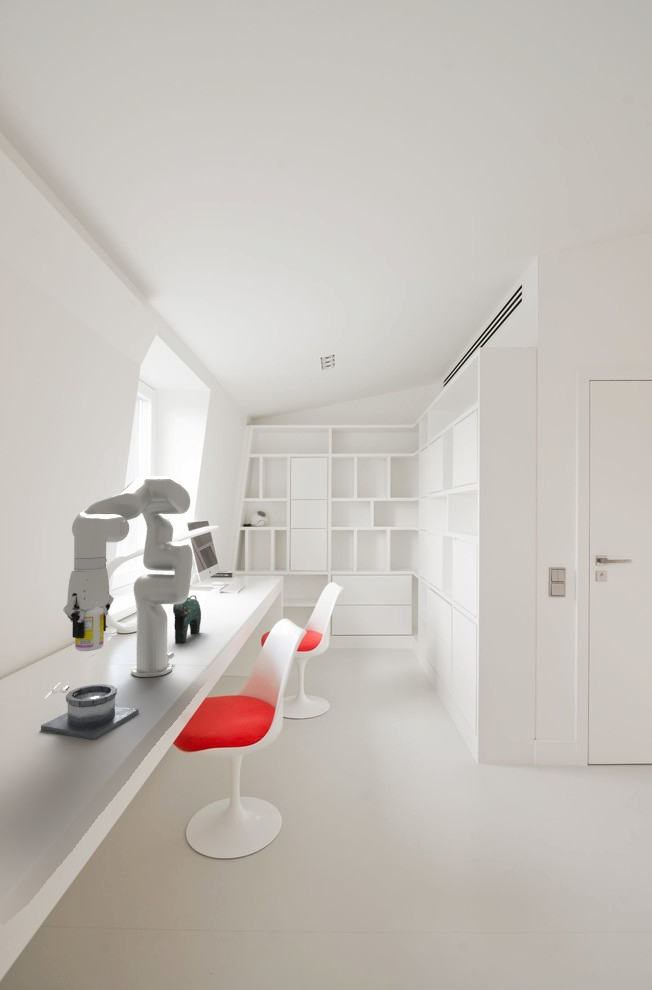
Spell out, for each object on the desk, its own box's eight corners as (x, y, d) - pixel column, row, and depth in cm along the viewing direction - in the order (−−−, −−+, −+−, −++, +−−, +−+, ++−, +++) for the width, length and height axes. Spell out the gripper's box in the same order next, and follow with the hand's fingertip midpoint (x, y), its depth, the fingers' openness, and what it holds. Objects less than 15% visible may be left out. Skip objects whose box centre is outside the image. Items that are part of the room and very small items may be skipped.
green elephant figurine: (184, 645, 205) (184, 593, 205) (168, 644, 206) (168, 592, 206) (203, 632, 225) (204, 585, 225) (189, 631, 226) (189, 584, 226)
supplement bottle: (95, 643, 140) (96, 594, 140) (108, 647, 136) (108, 597, 136) (70, 648, 135) (70, 598, 135) (82, 653, 131) (82, 601, 131)
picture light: (58, 684, 163) (59, 677, 163) (74, 683, 164) (74, 676, 164) (43, 701, 149) (43, 693, 149) (59, 700, 150) (60, 692, 150)
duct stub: (89, 706, 144) (89, 678, 144) (138, 713, 139) (138, 685, 139) (40, 730, 129) (41, 699, 129) (94, 739, 124) (94, 708, 124)
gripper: (102, 560, 145) (102, 625, 145) (51, 567, 129) (50, 641, 129) (125, 561, 143) (124, 628, 143) (75, 568, 126) (74, 644, 126)
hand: (89, 633), depth 136 cm, fingers closed on supplement bottle, 6 cm apart
